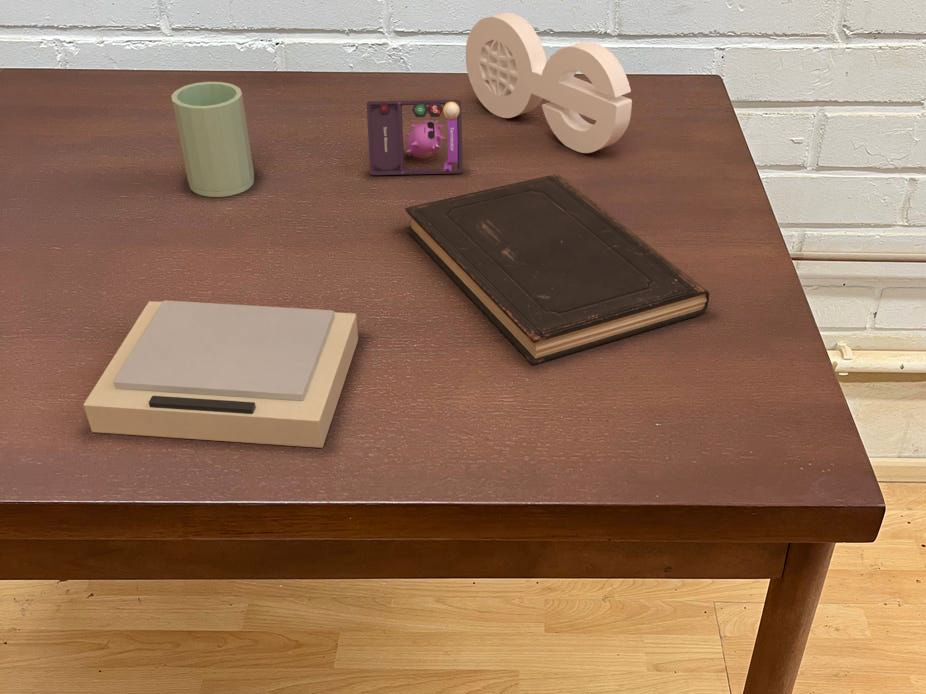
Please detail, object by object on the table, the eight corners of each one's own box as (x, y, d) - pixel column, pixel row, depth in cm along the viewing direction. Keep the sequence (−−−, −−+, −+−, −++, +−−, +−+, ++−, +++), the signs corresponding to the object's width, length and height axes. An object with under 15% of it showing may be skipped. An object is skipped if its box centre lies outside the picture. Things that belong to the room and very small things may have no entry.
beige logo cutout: (465, 101, 112) (465, 6, 105) (480, 96, 113) (481, 2, 107) (610, 166, 100) (621, 63, 93) (625, 160, 101) (637, 58, 94)
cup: (180, 195, 95) (162, 106, 89) (200, 167, 99) (183, 80, 94) (244, 199, 94) (230, 109, 89) (261, 170, 99) (249, 83, 93)
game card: (366, 101, 95) (461, 100, 95) (368, 99, 99) (458, 98, 100) (370, 175, 97) (463, 173, 98) (371, 170, 102) (460, 168, 103)
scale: (91, 432, 68) (80, 397, 66) (155, 327, 78) (147, 293, 76) (322, 448, 67) (318, 413, 65) (358, 339, 77) (355, 306, 75)
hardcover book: (532, 365, 75) (533, 339, 73) (406, 231, 90) (405, 207, 88) (707, 313, 80) (711, 288, 79) (560, 195, 95) (562, 172, 94)
